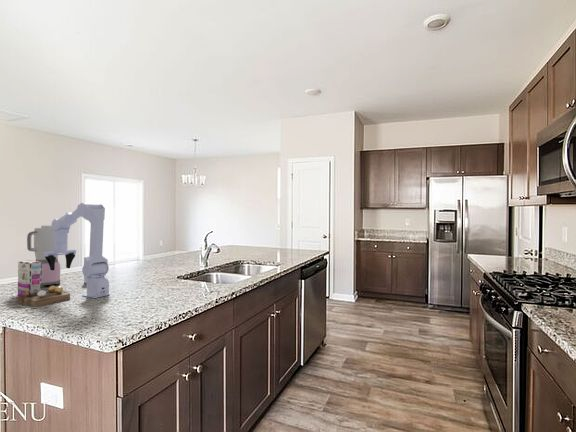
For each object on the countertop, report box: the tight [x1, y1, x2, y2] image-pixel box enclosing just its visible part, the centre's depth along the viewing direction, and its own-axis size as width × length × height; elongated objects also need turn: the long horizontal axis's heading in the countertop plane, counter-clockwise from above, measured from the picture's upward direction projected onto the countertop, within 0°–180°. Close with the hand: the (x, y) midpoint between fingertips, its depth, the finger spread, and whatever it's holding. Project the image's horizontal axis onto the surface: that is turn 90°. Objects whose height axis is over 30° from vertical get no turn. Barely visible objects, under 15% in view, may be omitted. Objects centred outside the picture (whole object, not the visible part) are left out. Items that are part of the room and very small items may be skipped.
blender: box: [26, 224, 61, 288], centre depth 176 cm, size 16×12×32 cm
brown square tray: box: [16, 290, 71, 308], centre depth 146 cm, size 14×14×2 cm
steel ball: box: [37, 289, 47, 298], centre depth 142 cm, size 3×3×3 cm
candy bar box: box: [17, 259, 42, 297], centre depth 153 cm, size 11×5×16 cm, turn 62°
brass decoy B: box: [47, 285, 57, 293], centre depth 151 cm, size 3×3×3 cm
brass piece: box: [55, 286, 64, 294], centre depth 149 cm, size 3×3×3 cm
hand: (60, 269), depth 170 cm, fingers open, 7 cm apart
